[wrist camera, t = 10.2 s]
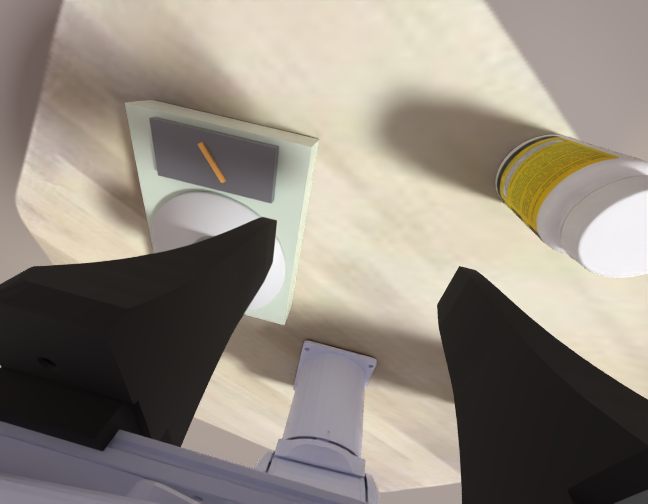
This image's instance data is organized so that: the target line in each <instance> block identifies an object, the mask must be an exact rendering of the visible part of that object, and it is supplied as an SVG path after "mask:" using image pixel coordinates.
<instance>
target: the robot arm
mask: <svg viewBox="0 0 648 504" xmlns="http://www.w3.org/2000/svg"><path fill="white" fill-rule="evenodd" d="M276 227H277V220H274V219H270V218H266V217H260V218H257V219H255V220H252V221H250V222H248V223H246V224H243V225H241V226H239V227H236V228H234V229H232V230H229V231H227V232H224V233H222V234H219V235H216V236H214V237H211V238H208V239H206V240H203V241H200V242H197V243H194V244H191V245H187V246H183V247H180V248H176V249H172V250H168V251H163V252H158V253H153V254H148V255H143V256H138V257H132V258H125V259H119V260H111V261H102V262H93V263H82V264H67V265H53V266H34V267H31V268H29V269H27V270H25V271H23V272H21V273H20V274H18V275H16V276H15V277H13V278H11V279H9V280H7V281H5V282H4V283H2V284H0V365H1V366H2V367H1V368H0V504H380V496H379V489H378V487H377V485H376V483H375V481H374V479H373V477H372V475H370V474H366V473H365V459H362V458H361V451H362V432H363V412H364V392H365V387H366V385H367V383H368V381H369V379H370V377H371V375H372V373H373V371H374V369H375V367H376V365H377V360H376V359H375V358H372V357H368V356H365V355H361V354H357V353H353V352H350V351H346V350H342V349H338V348H335V347H331V346H327V345H324V344H320V343H316V342H312V341H308V340H307V341H304V344H303V348H302V352H301V357H300V361H299V366H298V370H297V374H296V379H295V383H294V390H295V393H294V397H293V401H292V404H291V408H290V412H289V416H288V419H287V423H286V427H285V430H284V434H283V438H282V439H279V440H278V443H277V447H276V450H275V451H273V450H268V451H266V453H265V454H263V455H262V456H261V457H260V458H259V460H258V461H257V463H256V466H255V468H254V469H253V468H250V467H246V466H243V465H239V464H236V463H233V462H229V461H226V460H222V459H219V458H215V457H212V456H209V455H205V454H202V453H198V452H195V451H191V450H188V449H185V448H181V445H182V443H183V440H184V438H185V435H186V433H187V431H188V428H189V426H190V423H191V421H192V419H193V417H194V414H195V412H196V410H197V407H198V405H199V403H200V401H201V398H202V396H203V394H204V392H205V389H206V387H207V385H208V383H209V381H210V378H211V376H212V374H213V372H214V370H215V368H216V366H217V363H218V361H219V359H220V357H221V355H222V353H223V351H224V349H225V347H226V345H227V343H228V341H229V339H230V337H231V335H232V333H233V331H234V329H235V328H236V326H237V324H238V323H239V321H240V319H241V318H242V316H243V315H244V313H245V312H246V310H247V308H248V307H249V305H250V304H251V302H252V301H253V299H254V297H255V296H256V294H257V293H258V291H259V289H260V288H261V286H262V285H263V283H264V281H265V279H266V277H267V275H268V272H269V270H270V268H271V266H272V263H273V257H274V247H275V237H276ZM437 309H438V324H439V331H440V335H441V340H442V344H443V349H444V353H445V357H446V361H447V366H448V370H449V374H450V378H451V383H452V388H453V393H454V401H455V409H456V418H457V427H458V438H459V450H460V466H461V483H462V504H648V400H647V399H646V398H644V397H642V396H641V395H639V394H637V393H636V392H634V391H632V390H631V389H629V388H628V387H626V386H624V385H623V384H621V383H620V382H618V381H617V380H615V379H614V378H612V377H610V376H609V375H607V374H606V373H604V372H603V371H601V370H600V369H598V368H597V367H595V366H594V365H592V364H591V363H589V362H588V361H586V360H585V359H583V358H582V357H581V356H579V355H578V354H577V353H575V352H574V351H572V350H571V349H570V348H568V347H567V346H566V345H564V344H563V343H561V342H560V341H559V340H558V339H556V338H555V337H554V336H552V335H551V334H550V333H549V332H547V331H546V330H545V329H544V328H542V327H541V326H540V325H539V324H538V323H536V322H535V321H534V320H533V319H532V318H530V317H529V316H528V315H527V314H526V313H525V312H523V311H522V310H521V309H520V308H519V307H518V306H517V305H515V304H514V303H513V302H512V301H511V300H510V299H509V298H508V297H507V296H505V295H504V294H503V293H502V292H501V291H500V290H499V289H498V288H497V287H495V286H494V285H493V284H492V283H491V282H490V281H489V280H487V279H486V278H485V277H484V276H483V275H481V274H480V273H479V272H477V271H476V270H473V269H469V268H465V267H461V266H459V268H458V270H457V271H456V273H455V275H454V276H453V278H452V280H451V282H450V283H449V285H448V287H447V289H446V290H445V292H444V294H443V296H442V297H441V299H440V301H439V302H438V304H437Z"/></svg>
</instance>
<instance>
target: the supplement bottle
mask: <svg viewBox="0 0 648 504" xmlns="http://www.w3.org/2000/svg"><path fill="white" fill-rule="evenodd" d="M495 185H496V191H497V194H498V196H499V197H500V199H501V200H502V201H503V202H504V203H505V204H506V205H507V206H508V207H509V208H510V209H511V210H512V211H513V212H514V213H515V214H516V215H517V216H518V217H519V218H520V219H521V220H522V221H523V222H524V223H525V224H526V225H527V226H528V227H529V228H530V229H531V230H532V231H533V232H534V233H535V234H536V235H537V236H538V237H539V238H540V239H541V240H542V241H543V242H544V243H545V244H547V245H548V246H549V247H551V248H552V249H554V250H556V251H558V252H561V253H564V254H567V255H569V256H570V257H571V258H572V259H574V260H576V261H577V262H578V263H579V264H581V265H582V266H583V267H584V268H586V269H587V270H589V271H590V272H592V273H595V274H597V275H601V276H606V277H613V278H623V277H633V276H638V275H642V274H646V273H648V162H646V161H644V160H641V159H638V158H635V157H632V156H628V155H625V154H621V153H618V152H614V151H611V150H608V149H605V148H602V147H599V146H595V145H592V144H589V143H586V142H583V141H580V140H577V139H574V138H571V137H567V136H563V135H544V136H539V137H535V138H532V139H530V140H528V141H526V142H524V143H522V144H520V145H519V146H517V147H516V148H515V149H513V150H512V151H511V152H510V153H509V154H508V155H507V156H506V158H505V159H504V160H503V162H502V163H501V165H500V167H499V169H498V172H497V175H496V181H495Z"/></svg>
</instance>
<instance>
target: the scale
mask: <svg viewBox="0 0 648 504" xmlns="http://www.w3.org/2000/svg"><path fill="white" fill-rule="evenodd" d="M124 103H125V109H126V114H127V119H128V124H129V129H130V134H131V140H132V145H133V150H134V155H135V160H136V165H137V171H138V176H139V181H140V186H141V191H142V196H143V202H144V207H145V212H146V217H147V222H148V227H149V233H150V238H151V243H152V248H153V253H158V252H163V251H168V250H172V249H176V248H180V247H183V246H187V245H191V244H193V243H194V242H195V241H196V240H197V239H199V238H201V237H204V236H216V235H219V234H222V233H224V232H227V231H229V230H232V229H234V228H236V227H239V226H241V225H243V224H246V223H248V222H250V221H252V220H255V219H257V218H260V217H266V218H270V219H274V220H277V227H276V237H275V247H274V257H273V263H272V266H271V268H270V270H269V272H268V275H267V277H266V279H265V281H264V283H263V285H262V286H261V288H260V289H259V291H258V293H257V294H256V296H255V297H254V299H253V301H252V302H251V304H250V305H249V307H248V308H247V310H246V312H245V313H244V315H248V316H251V317H255V318H259V319H263V320H266V321H270V322H274V323H278V324H281V325H284V324H285V322H286V319H287V317H288V314H289V312H290V309H291V306H292V300H293V295H294V289H295V283H296V277H297V271H298V265H299V259H300V253H301V247H302V241H303V235H304V229H305V223H306V217H307V211H308V205H309V199H310V193H311V187H312V181H313V175H314V169H315V163H316V157H317V151H318V145H319V139H316V138H312V137H307V136H303V135H299V134H295V133H291V132H286V131H282V130H278V129H274V128H269V127H265V126H261V125H257V124H253V123H248V122H244V121H240V120H236V119H231V118H227V117H223V116H219V115H214V114H210V113H206V112H202V111H198V110H193V109H189V108H185V107H181V106H176V105H172V104H168V103H164V102H160V101H155V100H144V101H134V102H124Z"/></svg>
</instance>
